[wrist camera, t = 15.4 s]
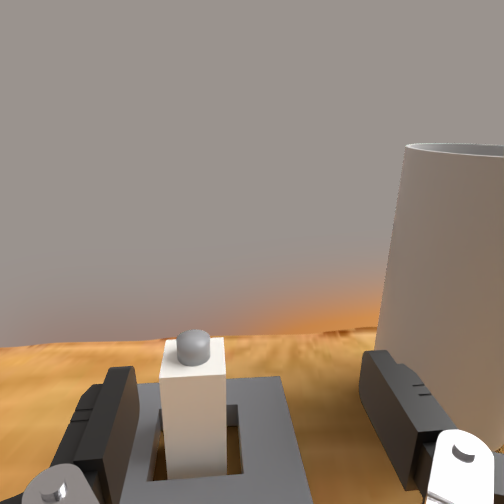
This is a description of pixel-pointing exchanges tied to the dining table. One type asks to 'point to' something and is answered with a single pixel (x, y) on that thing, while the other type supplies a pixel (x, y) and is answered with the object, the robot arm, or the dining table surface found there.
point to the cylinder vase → (450, 282)
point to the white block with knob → (194, 405)
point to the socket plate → (250, 444)
